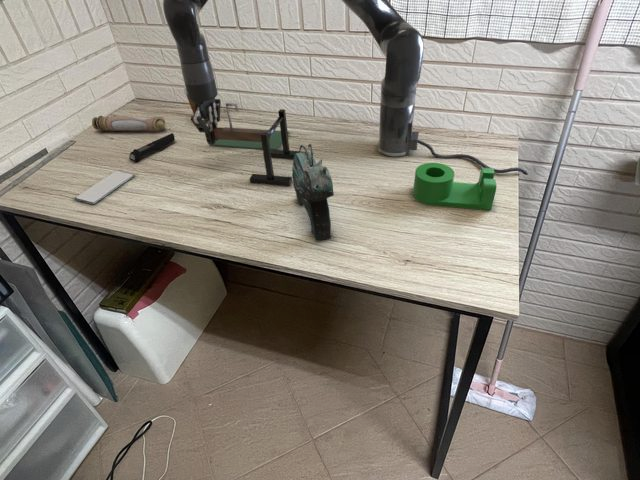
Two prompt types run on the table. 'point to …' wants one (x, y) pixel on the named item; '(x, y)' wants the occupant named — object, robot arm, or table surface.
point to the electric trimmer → (151, 147)
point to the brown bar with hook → (237, 131)
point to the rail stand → (275, 154)
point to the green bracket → (453, 188)
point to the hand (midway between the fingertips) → (213, 141)
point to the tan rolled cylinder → (128, 123)
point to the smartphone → (104, 187)
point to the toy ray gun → (313, 191)
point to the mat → (274, 142)
